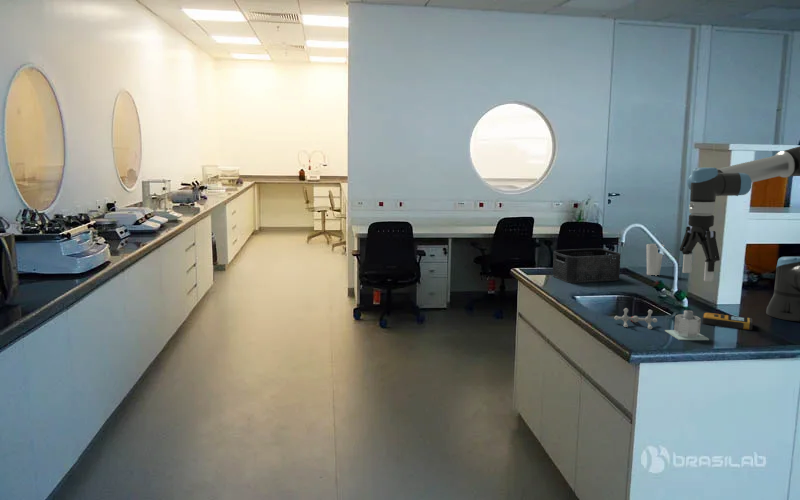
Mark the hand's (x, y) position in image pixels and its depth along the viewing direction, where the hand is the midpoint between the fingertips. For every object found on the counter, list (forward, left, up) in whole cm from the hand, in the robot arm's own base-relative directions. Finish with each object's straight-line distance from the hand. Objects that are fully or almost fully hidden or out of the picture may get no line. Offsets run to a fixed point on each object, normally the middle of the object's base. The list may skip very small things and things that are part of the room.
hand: (697, 276), depth 197 cm
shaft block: (+4, +4, -20) cm, 20 cm away
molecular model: (+16, -9, -20) cm, 27 cm away
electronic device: (-18, -10, -20) cm, 29 cm away
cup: (-31, -98, -20) cm, 105 cm away
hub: (+4, +4, -19) cm, 20 cm away
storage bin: (+7, -90, -20) cm, 92 cm away
